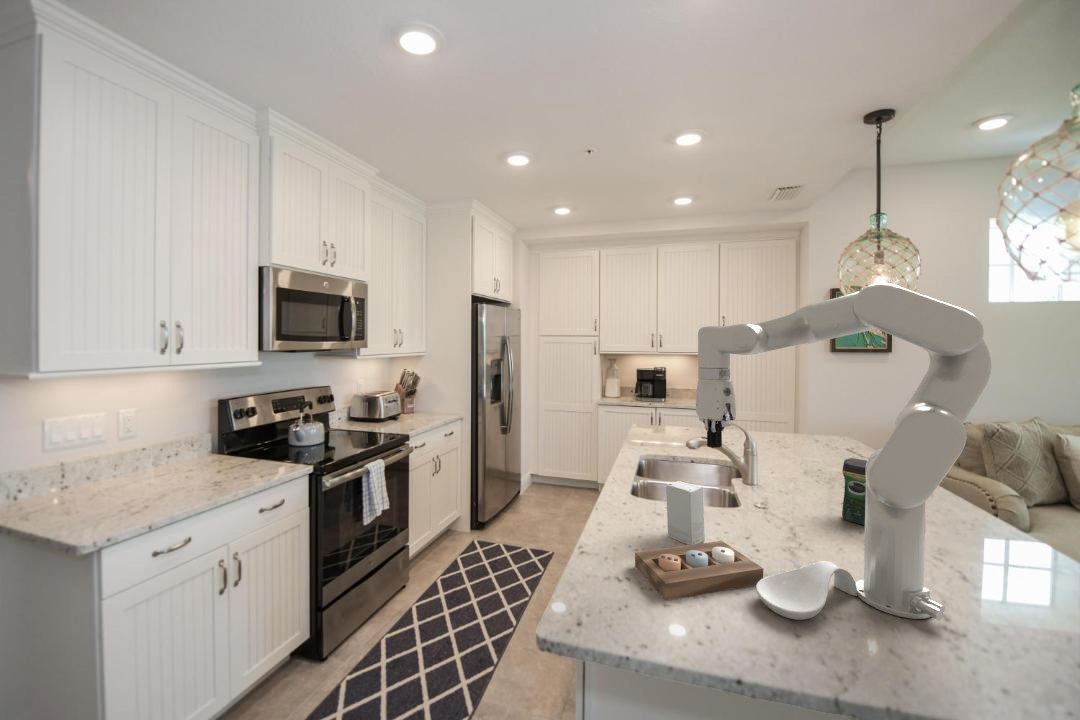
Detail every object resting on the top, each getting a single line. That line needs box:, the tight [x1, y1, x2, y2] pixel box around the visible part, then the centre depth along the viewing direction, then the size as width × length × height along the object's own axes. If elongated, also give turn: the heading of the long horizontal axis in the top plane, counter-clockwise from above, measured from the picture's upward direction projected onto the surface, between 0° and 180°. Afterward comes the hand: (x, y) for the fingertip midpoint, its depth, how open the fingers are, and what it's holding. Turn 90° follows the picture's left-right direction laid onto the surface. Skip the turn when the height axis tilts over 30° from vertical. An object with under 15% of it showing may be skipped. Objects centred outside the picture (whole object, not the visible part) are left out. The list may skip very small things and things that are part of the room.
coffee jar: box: [841, 457, 868, 526], centre depth 128 cm, size 10×8×19 cm
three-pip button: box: [659, 554, 681, 572], centre depth 97 cm, size 5×5×5 cm
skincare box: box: [665, 480, 706, 545], centre depth 117 cm, size 8×6×15 cm
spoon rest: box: [755, 560, 858, 621], centre depth 88 cm, size 24×12×7 cm, turn 114°
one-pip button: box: [712, 547, 734, 564], centre depth 100 cm, size 5×5×5 cm
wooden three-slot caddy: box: [634, 540, 764, 601], centre depth 99 cm, size 14×24×4 cm, turn 104°
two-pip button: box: [686, 550, 708, 568], centre depth 99 cm, size 5×5×5 cm
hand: (714, 446), depth 109 cm, fingers closed
